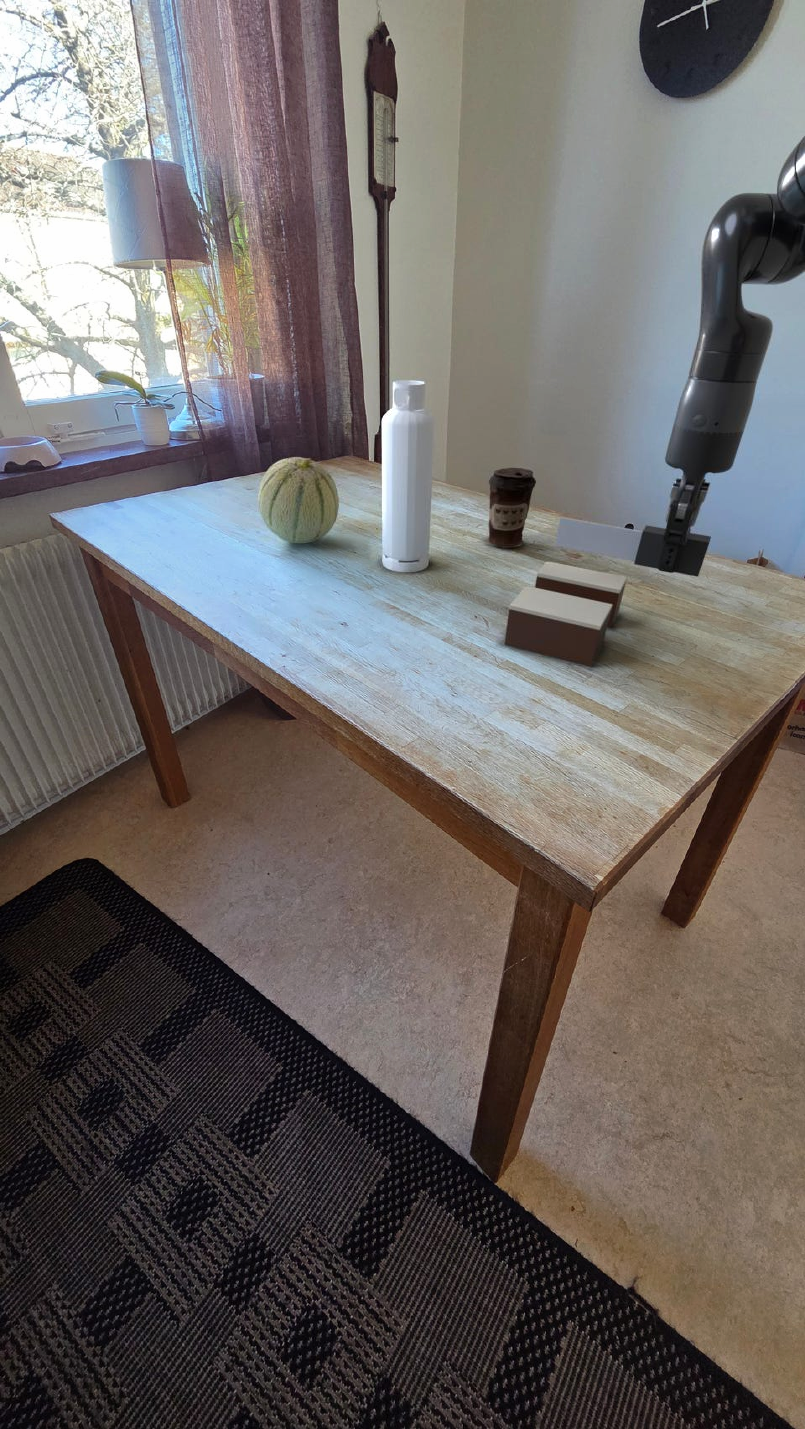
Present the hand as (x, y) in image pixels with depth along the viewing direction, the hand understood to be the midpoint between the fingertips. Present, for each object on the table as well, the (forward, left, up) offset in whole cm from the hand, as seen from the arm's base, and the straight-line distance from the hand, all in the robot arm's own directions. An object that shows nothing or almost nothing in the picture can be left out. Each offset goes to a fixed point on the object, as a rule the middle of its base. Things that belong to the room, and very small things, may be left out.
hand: (668, 566), depth 79 cm
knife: (+6, 0, 0) cm, 6 cm away
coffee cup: (+30, -25, -11) cm, 40 cm away
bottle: (+42, -7, -11) cm, 44 cm away
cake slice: (+11, -3, -11) cm, 16 cm away
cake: (+11, +8, -11) cm, 18 cm away
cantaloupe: (+64, -7, -11) cm, 65 cm away
